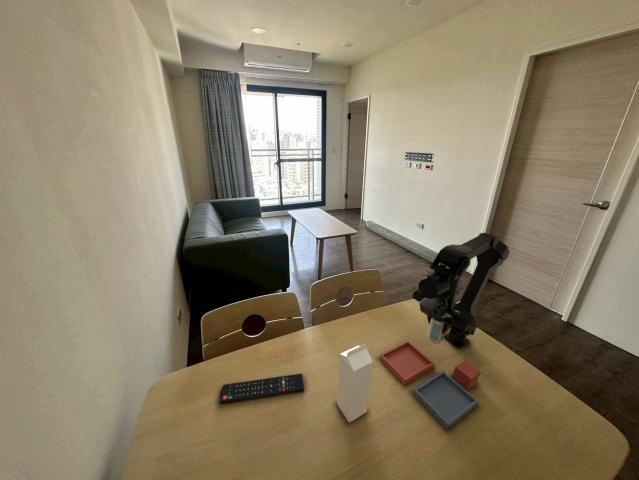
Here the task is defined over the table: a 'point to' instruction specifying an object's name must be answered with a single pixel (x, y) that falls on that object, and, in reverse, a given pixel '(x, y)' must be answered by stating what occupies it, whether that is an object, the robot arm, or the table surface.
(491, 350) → the table surface
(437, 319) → the pill bottle
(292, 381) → the remote control
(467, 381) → the red block
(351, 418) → the milk
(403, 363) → the red tray
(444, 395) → the grey tray
